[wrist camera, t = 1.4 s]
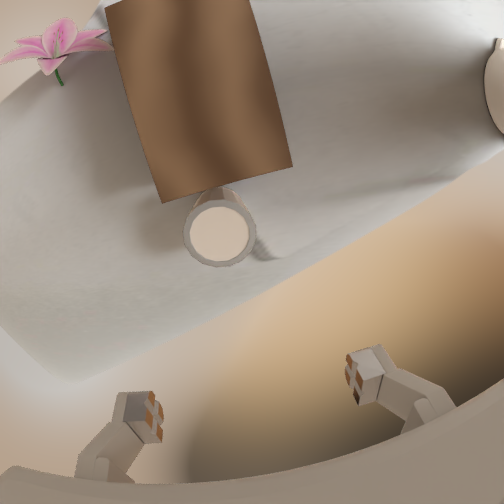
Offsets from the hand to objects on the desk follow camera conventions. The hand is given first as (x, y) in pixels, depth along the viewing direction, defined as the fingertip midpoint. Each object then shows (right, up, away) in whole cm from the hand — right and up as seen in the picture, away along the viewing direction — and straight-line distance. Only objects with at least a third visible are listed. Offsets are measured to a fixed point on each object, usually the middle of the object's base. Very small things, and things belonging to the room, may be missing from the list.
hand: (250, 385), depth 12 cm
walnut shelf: (-5, +23, +16) cm, 28 cm away
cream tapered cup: (-4, +10, +23) cm, 25 cm away
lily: (-19, +28, +12) cm, 36 cm away
